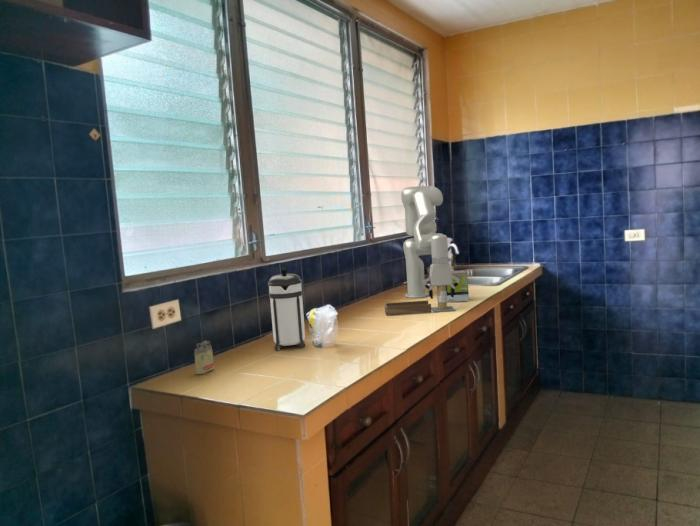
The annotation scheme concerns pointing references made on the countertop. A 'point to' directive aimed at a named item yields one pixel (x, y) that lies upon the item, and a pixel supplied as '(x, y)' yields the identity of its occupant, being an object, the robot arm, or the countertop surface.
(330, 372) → the countertop surface
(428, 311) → the walnut lane
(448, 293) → the tea box
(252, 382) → the countertop surface
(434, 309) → the mat
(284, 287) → the coffee press
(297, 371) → the countertop surface
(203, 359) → the pale green labeled container
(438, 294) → the sprinkles bottle
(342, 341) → the countertop surface
